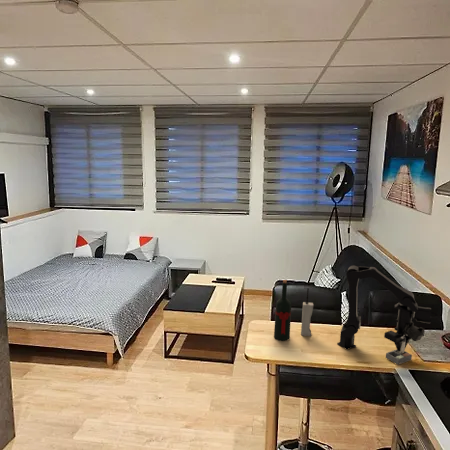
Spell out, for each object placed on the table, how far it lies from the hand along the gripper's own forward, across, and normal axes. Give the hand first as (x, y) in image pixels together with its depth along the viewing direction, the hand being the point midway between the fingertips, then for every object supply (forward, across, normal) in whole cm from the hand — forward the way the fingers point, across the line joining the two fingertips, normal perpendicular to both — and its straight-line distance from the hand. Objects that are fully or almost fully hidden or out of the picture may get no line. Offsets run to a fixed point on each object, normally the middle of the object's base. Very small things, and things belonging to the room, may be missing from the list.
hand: (400, 350), depth 177 cm
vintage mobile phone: (+4, -24, +37) cm, 45 cm away
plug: (+2, 0, 0) cm, 2 cm away
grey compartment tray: (+3, -2, -1) cm, 4 cm away
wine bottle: (+4, -38, +39) cm, 55 cm away
